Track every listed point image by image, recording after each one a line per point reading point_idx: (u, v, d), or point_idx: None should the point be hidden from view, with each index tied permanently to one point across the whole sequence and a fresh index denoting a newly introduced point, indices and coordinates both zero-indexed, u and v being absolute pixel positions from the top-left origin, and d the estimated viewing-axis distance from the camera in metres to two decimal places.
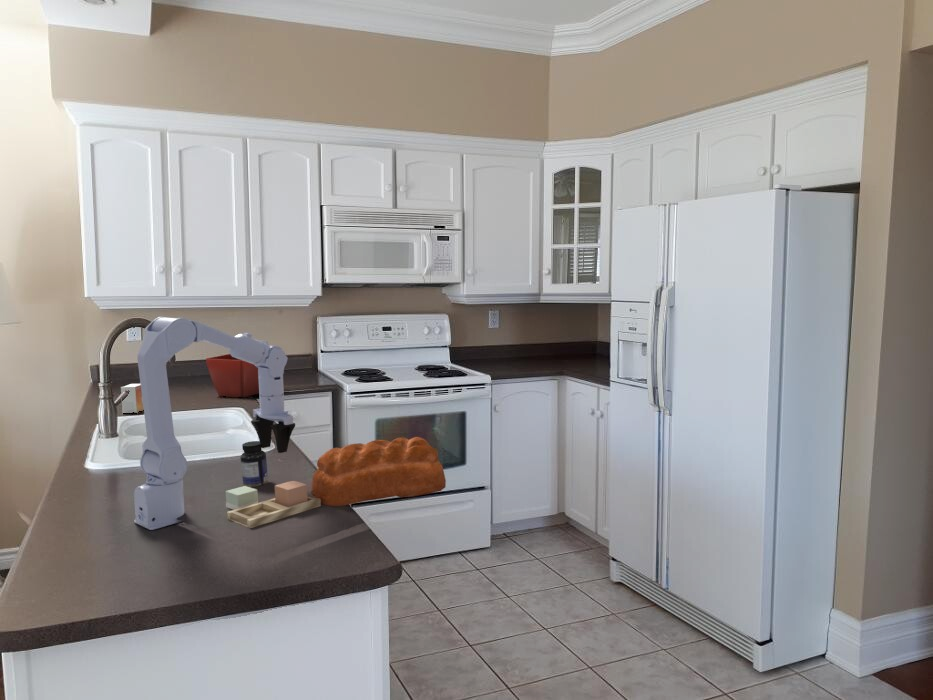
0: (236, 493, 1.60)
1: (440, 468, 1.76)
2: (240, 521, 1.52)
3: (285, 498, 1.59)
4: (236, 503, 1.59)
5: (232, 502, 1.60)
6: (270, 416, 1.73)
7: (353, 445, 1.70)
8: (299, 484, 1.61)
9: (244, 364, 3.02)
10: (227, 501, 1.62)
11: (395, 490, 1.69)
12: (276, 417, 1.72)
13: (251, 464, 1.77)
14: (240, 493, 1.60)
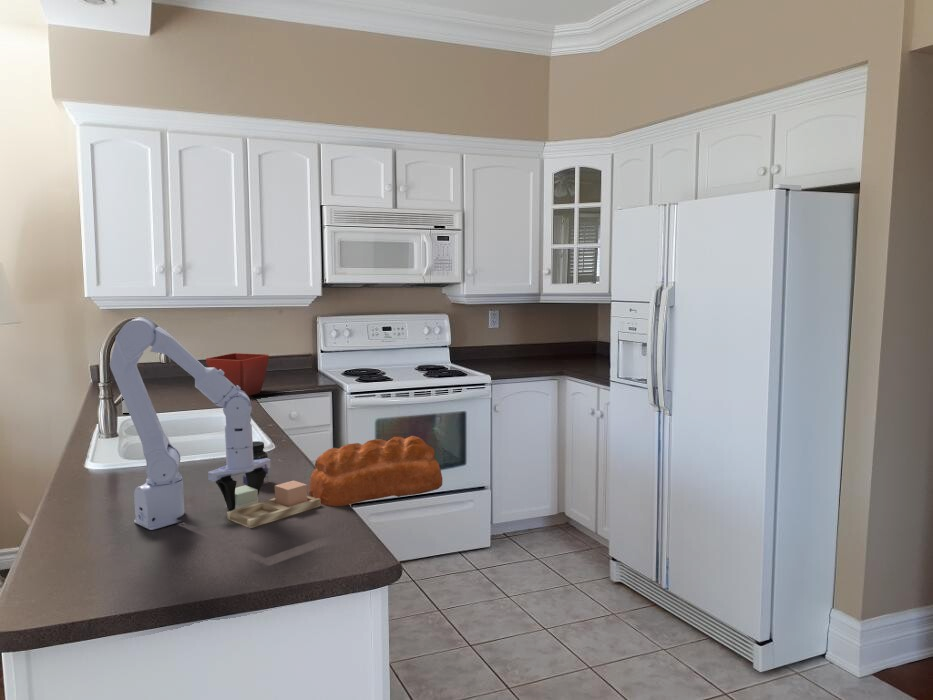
0: (236, 493, 1.60)
1: (437, 466, 1.77)
2: (240, 521, 1.52)
3: (285, 498, 1.59)
4: (236, 503, 1.59)
5: None
6: None
7: (351, 445, 1.70)
8: (299, 484, 1.61)
9: (244, 364, 3.02)
10: None
11: (394, 489, 1.69)
12: None
13: None
14: (240, 493, 1.60)
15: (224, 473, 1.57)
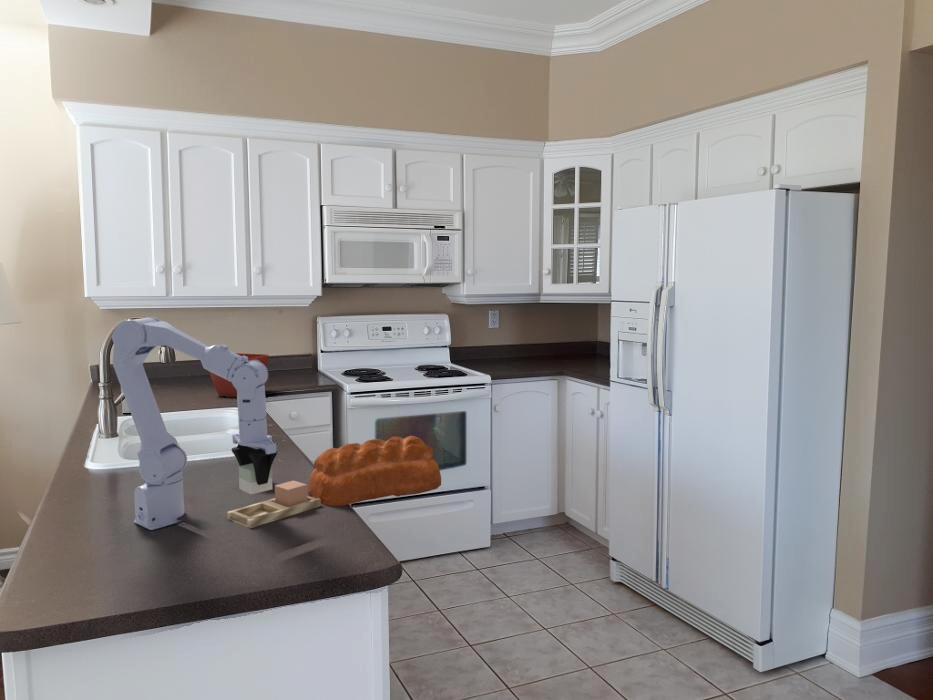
0: None
1: (436, 466, 1.78)
2: (240, 521, 1.52)
3: (285, 498, 1.59)
4: (269, 476, 1.55)
5: None
6: (250, 444, 1.51)
7: (351, 445, 1.70)
8: (299, 484, 1.61)
9: None
10: (253, 481, 1.52)
11: (393, 489, 1.70)
12: (257, 445, 1.50)
13: None
14: None
15: None
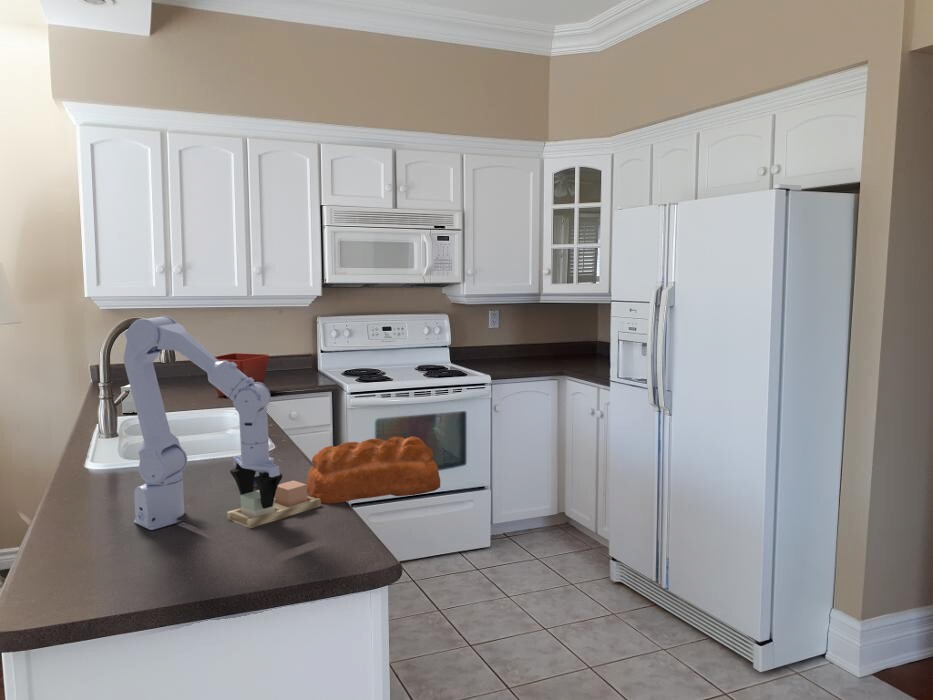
0: None
1: (434, 468, 1.76)
2: (240, 521, 1.52)
3: (285, 498, 1.59)
4: None
5: None
6: (253, 467, 1.51)
7: (347, 443, 1.72)
8: (299, 484, 1.61)
9: (244, 364, 3.02)
10: (257, 509, 1.52)
11: (387, 489, 1.70)
12: (260, 468, 1.50)
13: None
14: None
15: None
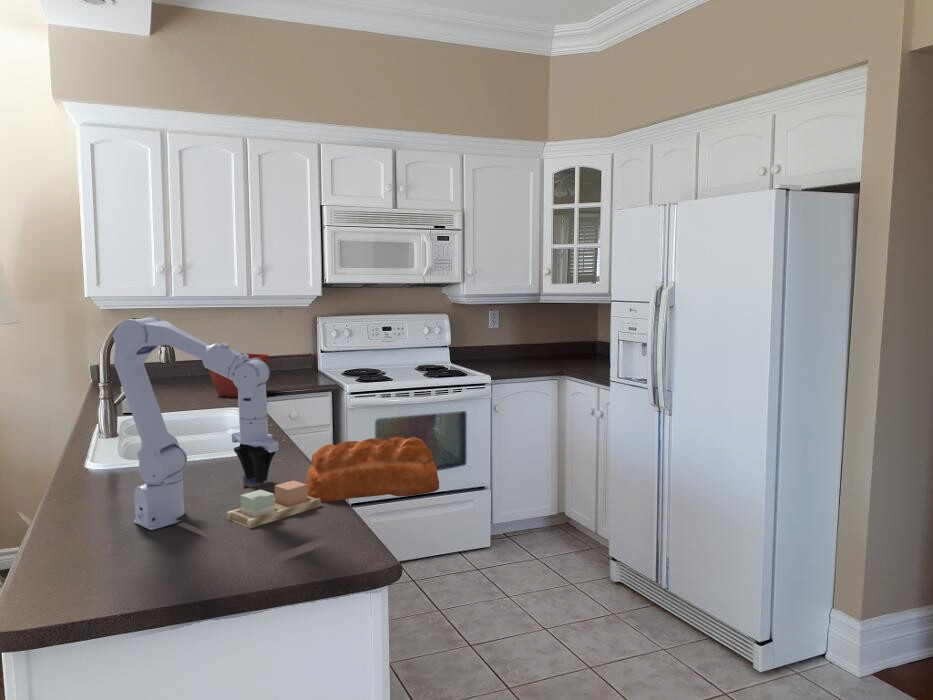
0: (267, 494, 1.55)
1: (433, 469, 1.75)
2: (240, 521, 1.52)
3: (285, 498, 1.59)
4: (272, 503, 1.55)
5: (265, 506, 1.54)
6: (252, 442, 1.50)
7: (345, 442, 1.73)
8: (299, 484, 1.61)
9: None
10: (257, 509, 1.52)
11: (382, 489, 1.70)
12: (259, 443, 1.49)
13: None
14: (268, 493, 1.55)
15: None
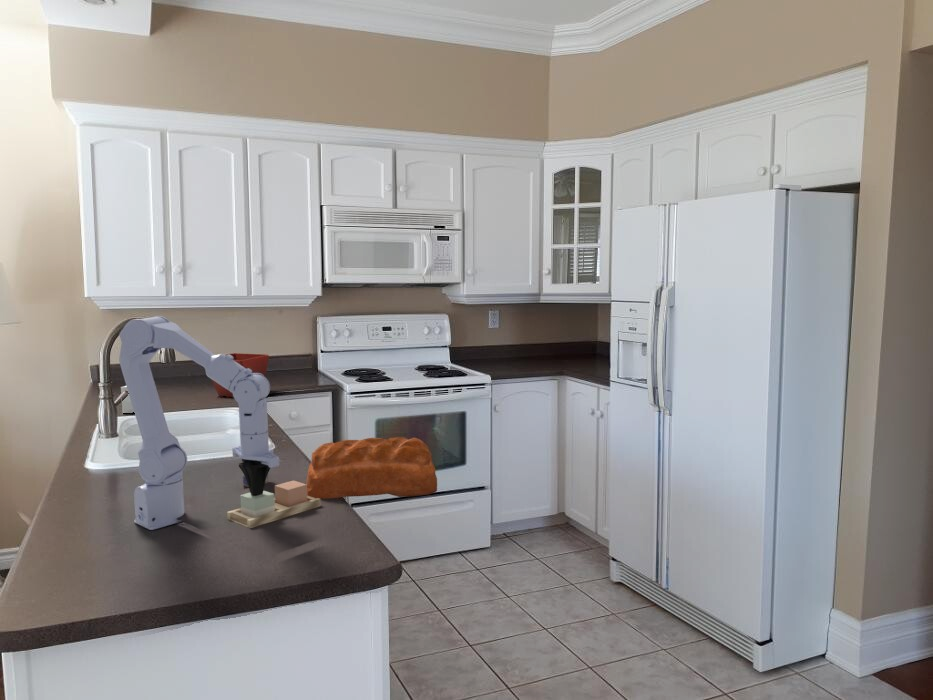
0: (267, 494, 1.55)
1: (430, 471, 1.73)
2: (240, 521, 1.52)
3: (285, 498, 1.59)
4: (272, 503, 1.55)
5: (265, 506, 1.54)
6: (253, 457, 1.50)
7: (344, 441, 1.74)
8: (299, 484, 1.61)
9: (244, 364, 3.02)
10: (257, 509, 1.52)
11: (377, 489, 1.70)
12: (260, 458, 1.50)
13: None
14: (268, 493, 1.55)
15: None
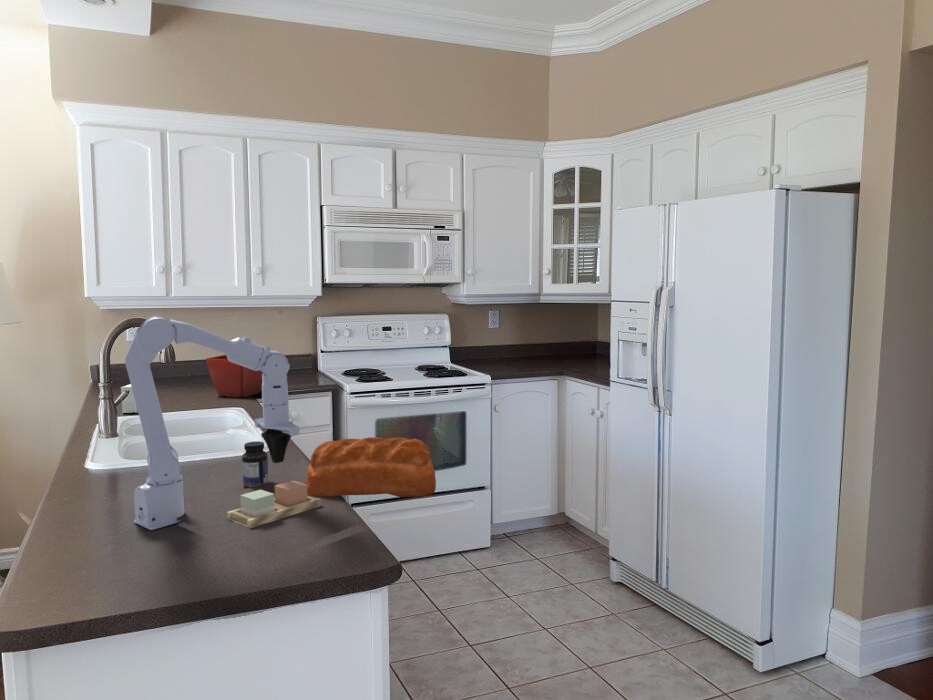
0: (267, 494, 1.55)
1: (427, 473, 1.72)
2: (240, 521, 1.52)
3: (285, 498, 1.59)
4: (272, 503, 1.55)
5: (265, 506, 1.54)
6: (274, 426, 1.62)
7: (343, 440, 1.75)
8: (299, 484, 1.61)
9: None
10: (257, 509, 1.52)
11: (373, 489, 1.70)
12: (281, 427, 1.62)
13: (251, 464, 1.78)
14: (268, 493, 1.55)
15: None
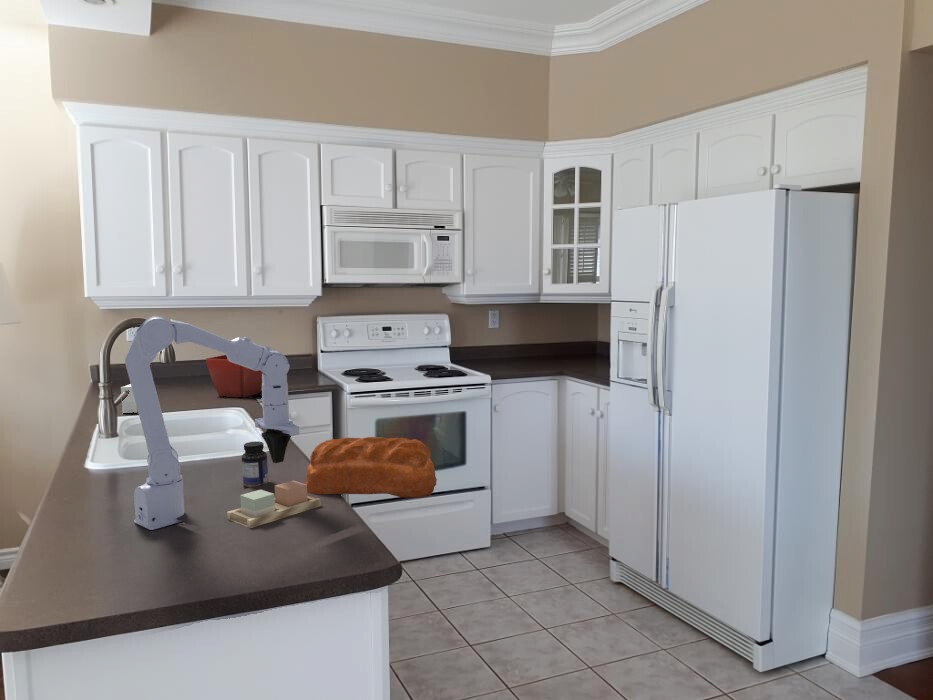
0: (267, 494, 1.55)
1: (423, 474, 1.71)
2: (240, 521, 1.52)
3: (285, 498, 1.59)
4: (272, 503, 1.55)
5: (265, 506, 1.54)
6: (274, 426, 1.62)
7: (343, 439, 1.77)
8: (299, 484, 1.61)
9: None
10: (257, 509, 1.52)
11: (369, 488, 1.70)
12: (281, 427, 1.62)
13: (251, 465, 1.78)
14: (268, 493, 1.55)
15: None
